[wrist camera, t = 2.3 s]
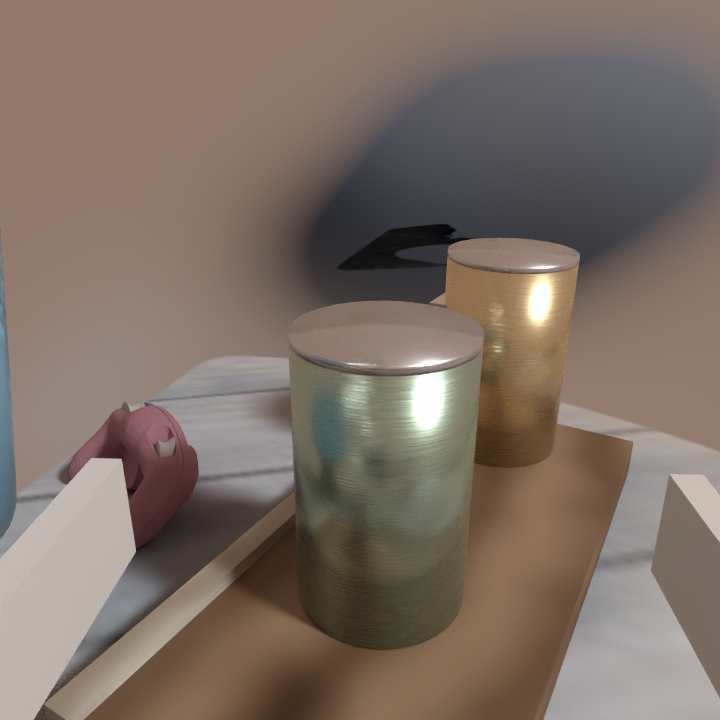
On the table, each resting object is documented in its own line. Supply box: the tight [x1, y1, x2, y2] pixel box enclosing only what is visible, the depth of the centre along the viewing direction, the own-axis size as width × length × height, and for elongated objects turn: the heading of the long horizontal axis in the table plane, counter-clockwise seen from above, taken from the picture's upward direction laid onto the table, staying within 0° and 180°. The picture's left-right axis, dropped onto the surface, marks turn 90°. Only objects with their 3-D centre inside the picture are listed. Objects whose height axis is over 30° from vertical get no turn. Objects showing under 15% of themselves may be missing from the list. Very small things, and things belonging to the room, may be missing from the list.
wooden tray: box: [43, 424, 633, 720], centre depth 33 cm, size 16×32×3 cm, turn 150°
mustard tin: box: [430, 238, 580, 468], centre depth 40 cm, size 8×8×12 cm
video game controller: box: [69, 402, 199, 549], centre depth 39 cm, size 10×5×7 cm, turn 35°
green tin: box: [288, 301, 484, 650], centre depth 27 cm, size 8×8×12 cm
